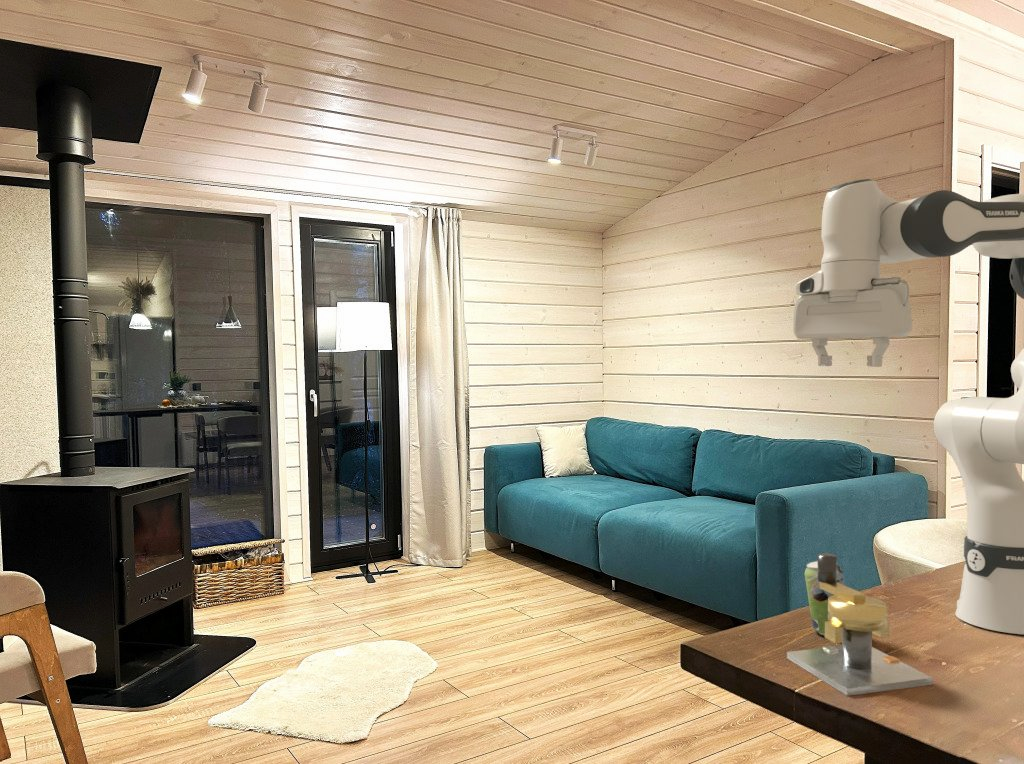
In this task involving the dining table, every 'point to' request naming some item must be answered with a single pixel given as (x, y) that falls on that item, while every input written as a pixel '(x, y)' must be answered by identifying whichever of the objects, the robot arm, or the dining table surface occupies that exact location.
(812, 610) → the beverage can
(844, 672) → the post plate
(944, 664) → the dining table surface
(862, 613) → the brass crank handle
